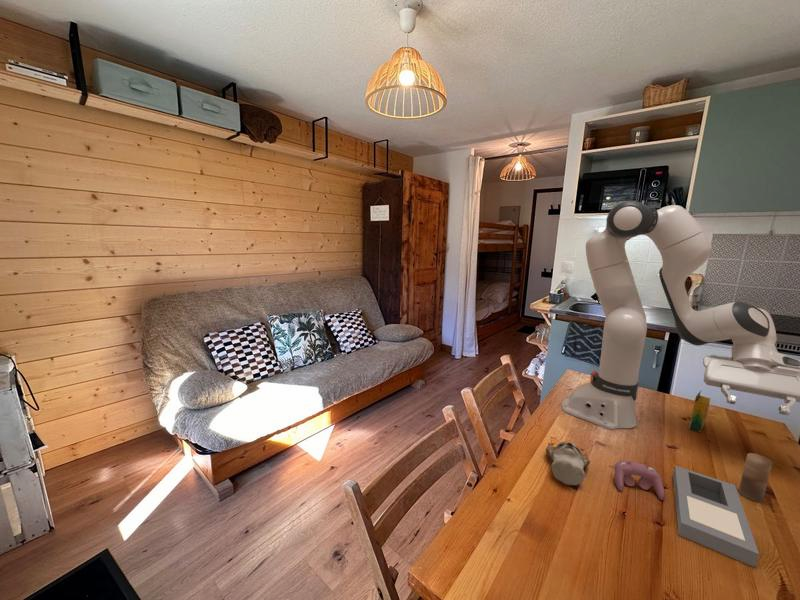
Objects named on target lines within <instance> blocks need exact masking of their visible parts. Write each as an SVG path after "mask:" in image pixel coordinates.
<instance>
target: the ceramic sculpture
mask: <svg viewBox="0 0 800 600" xmlns="http://www.w3.org/2000/svg"><path fill="white" fill-rule="evenodd" d="M545 450H546V454H547V456H548V457H549V458H550V459H551V460H552V463H551V465H550V466H551V471H552V474H553V475H552V476H553V477H554V478H555V479H556V480H557V481H559V482H561V483H562V484H564V485H566V486H578V485H580V484H581V483H582V482H583V481H584V479H585V478H586V473H585V471H584V468H587V467H588V466H589V464H590V463H591V461H590V459H589V458H588V455H587V453H582V450H581V449H580V448H579V447H578V446H577V445H576V444H575V443H571V442H568V441H561V442H559V443H557V445H556V446H553V445H552V444H550V443H548V444H547V447H546V448H545Z"/></svg>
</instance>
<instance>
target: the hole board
mask: <svg viewBox="0 0 800 600" xmlns="http://www.w3.org/2000/svg"><path fill="white" fill-rule="evenodd" d="M672 478H673V481H672V482H673V489H674V499H675V510H676V520H677V533H678V536H680V537H682V538H685V539H688V540H689V541H691V542H694V543H696V544H699V545H701V546H703V547H706V548H708V549H711V550H713V551H715V552H718V553H721V554H722V555H725V556H727V557H729V558H732V559H735V560H736V561H738V562H741V563H743V564H746V565H748V566H751V567H753V568H756V567H757V563H758V561H759V560H758V559H759V556H760V553H759V550H758V546H757V544H756V541H755V537H754V536H753V532H752V529H751V527H750V524H749V522H748V518H747V515H746V513H745V510H744V507H743V504H742V502H741V497H740V496H739V491H738V489H737V487H736V485H735V484H733V483H729V482H727V481H724V480H721V479H718V478H714V477H712V476H708V475H706V474H702V473H698V472H696V471H694V470H690V469H686V468H684V467H681V466H678V465H674V470H673V474H672Z"/></svg>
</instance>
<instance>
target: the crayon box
mask: <svg viewBox="0 0 800 600" xmlns="http://www.w3.org/2000/svg"><path fill="white" fill-rule="evenodd" d="M701 392H702V390H700V391H699V392H698V393H697V395H696V396H695V399H694V402H693V406H692V407H693V408H692V411H691V416H690V417H691V418H690V422H689V426H688V429H689V430H691V431H694V432H697V433H701V431H702V429H703V428H704V426H705V424H706V420H707V415H708V411H709V406H710V402H711V398H710V397H707V396H702V395H701Z"/></svg>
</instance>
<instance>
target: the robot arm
mask: <svg viewBox="0 0 800 600" xmlns="http://www.w3.org/2000/svg"><path fill="white" fill-rule="evenodd" d="M705 232H706V231H704V228H702V226H701V225H700V224H699V223H698V221H697V220H696V219H695V218H694V216H693V215H692V214H690V212H689V211H687V210H686V209H685V208H684V207H683V206H682V205H677V204H675V205H674V204H672V205H666V206H663V207H661V208H659V209H656V208H653V207H652V206H649V205H646V204H644V203H642V202H641V201H636V200H628V201H627V200H626V201H624V202H620V203H618V204H616V205H615V206H613V208H611V210H610V211H609V212H608V214H607V217H606V223H605V229H603V231H601V232H598V233H597V234H594V235H592V236H591V237H589V238H588V240H587V241H586V243H585V253H586V261H587V262H586V263H587V266H588V270H589V273H590V276H591V280H592V284H593V287H594V290H595V293H596V295H597V298H598V300H599V302H600V305H601V308H602V311H603V313H604V316H605V320H604V324H603V332H602V342H601V353H600V358H599V367H598V371H597V370H592V371H591V373H590V382H588V383H585V384H582V385H578V386H576V387H575V388H573V390H572V391H571V394H570V395H569V396H567V397H565V398H564V399H563V400H562V403H561V409H562V411H563V412H565V413H567V414H569V415H572V416H575V417H577V418H578V419H579V418H580V419H583V420H585V421H587V422H589V423H592V424H594V425H598V426H600V427H603V428H605V429H607V430H617V429H632V428H635V427H637V425H638V422H637V417H636V415H637V414H636V400H637V398H638V394H639V381H638V380H639V376H640V375H639V373H640V366H641V362H642V356H643V353H644V352H643V351H644V348H645V347H644V346H645V341H646V337H647V330H648V324H647V315H646V313H645V309H644V306H643V304H642V301H641V297H640V294H639V291H638V288H637V285H636V282H635V278H634V275H633V272H632V268H631V265H630V262H629V259H628V256H627V251H626V244H627V241H629V240H630V239H632V238H635V237H637V236H640V235H641V236H646V237H648V238H649V239H650V240H651V241H652V242H653V244H654V245H655V247H656V249H657V250H658V252H659V253H660V256H661V260H662V266H661V267H660V269H659V271H658V275H659V276H658V277H659V280H660V284H661V287H662V289H663V291H664V294H665V297H666V300H667V302H668V305H669V308H670V310H671V314H672V316H673V319H674V324H675V328H676V332H677V334H678V336H679V338H680V339H682V340H684V342H686V343H689V344H691V345H693V346H697V347H698V346H699V347H700V346H704V345H708V344H711V343H713V342H721V341H726V340H731V342H732V343H733V344H732V347H731V357H729V356H722V355H721V356H720V355H716V354H710V355H706V356H705V357H703V362H702V365H703V366H704V367H705V370H704V374H703V382H704V384H706V386H711V387H716V388H719V389H720V391H721V392H720V393H722V394H723V396H724V397H725V398H726V403H727V404H731V405H735V404H736V402H737V400H736V399H737V396H736V395H732V394H731V392H730V390H733V391H736V392H737V391H738V392H742V393H747V394H753V395H757V396H763V397H769V398H773V399H780V400H783V402H784V403H785V404H786V405H782V404H780V405H779V406H778V414H779V415H784V416H789V415H790V413H791V407H792V406H793V405H794V404H795V403H800V359H798V358H795V357H791V356H789V355H785V354H783V353H780V352H779V351H778V349H777V348H776V343H777V340H778V338H777V332H776V331H777V330H776V327H775V323H774V320H773V317H772V315H771V314H770V313H769V312H768V311H766V310H765V309H763V308H760V307H756V306H754V305H752V304H750V303H747V302H742V301H733V302H730V303H729V302H728V303H725V304H720V305H716V306H714V307H710V308H706V309H701V310H695V309H694V308H693V307H692V304H691V301H690V298H689V295H688V293H687V290H686V288H685V282H686V280H687V278H688V277H690V275H691V274H693V273H694V272H695V271H697V270H698V269H699V268H700V267H702V266H703V265H704V264H705V263H706V262H707V260H709V257H710V256H711V254H712V249H713V248H712V247H713V246H712V243H711V241H710V239H709V237H708V235H707V234H706V233H705Z"/></svg>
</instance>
